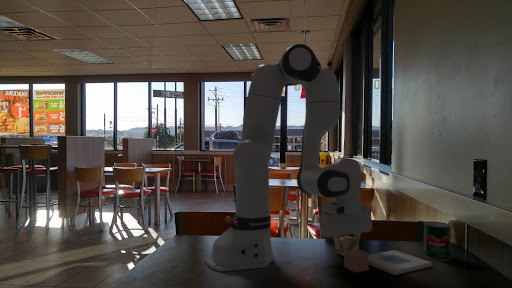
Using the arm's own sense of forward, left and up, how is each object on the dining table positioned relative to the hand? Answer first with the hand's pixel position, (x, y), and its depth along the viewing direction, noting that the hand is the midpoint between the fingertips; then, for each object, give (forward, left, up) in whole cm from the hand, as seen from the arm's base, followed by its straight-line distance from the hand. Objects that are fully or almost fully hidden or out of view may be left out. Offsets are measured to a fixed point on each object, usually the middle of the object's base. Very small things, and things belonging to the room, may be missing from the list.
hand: (346, 247), depth 114 cm
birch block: (0, 0, -2) cm, 2 cm away
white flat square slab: (+8, -13, -3) cm, 15 cm away
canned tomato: (+26, -15, -3) cm, 30 cm away
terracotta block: (-6, -11, -3) cm, 12 cm away
